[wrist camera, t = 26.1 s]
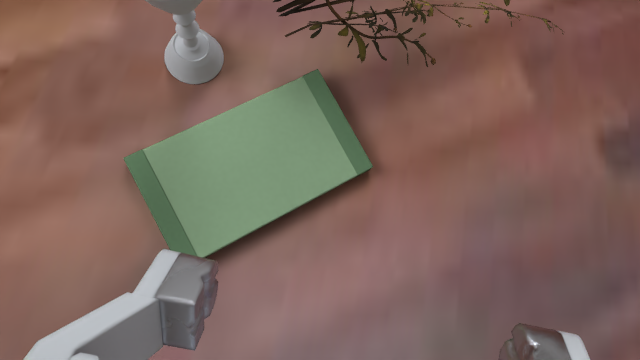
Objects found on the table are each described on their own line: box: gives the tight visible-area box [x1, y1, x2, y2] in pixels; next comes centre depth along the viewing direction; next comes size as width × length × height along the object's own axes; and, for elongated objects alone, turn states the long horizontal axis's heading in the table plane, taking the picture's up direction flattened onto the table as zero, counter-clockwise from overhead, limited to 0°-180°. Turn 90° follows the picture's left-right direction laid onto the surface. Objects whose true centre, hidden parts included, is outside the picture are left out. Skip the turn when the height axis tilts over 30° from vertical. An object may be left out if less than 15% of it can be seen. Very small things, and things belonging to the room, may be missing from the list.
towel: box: [124, 69, 373, 258], centre depth 37 cm, size 18×10×1 cm, turn 119°
